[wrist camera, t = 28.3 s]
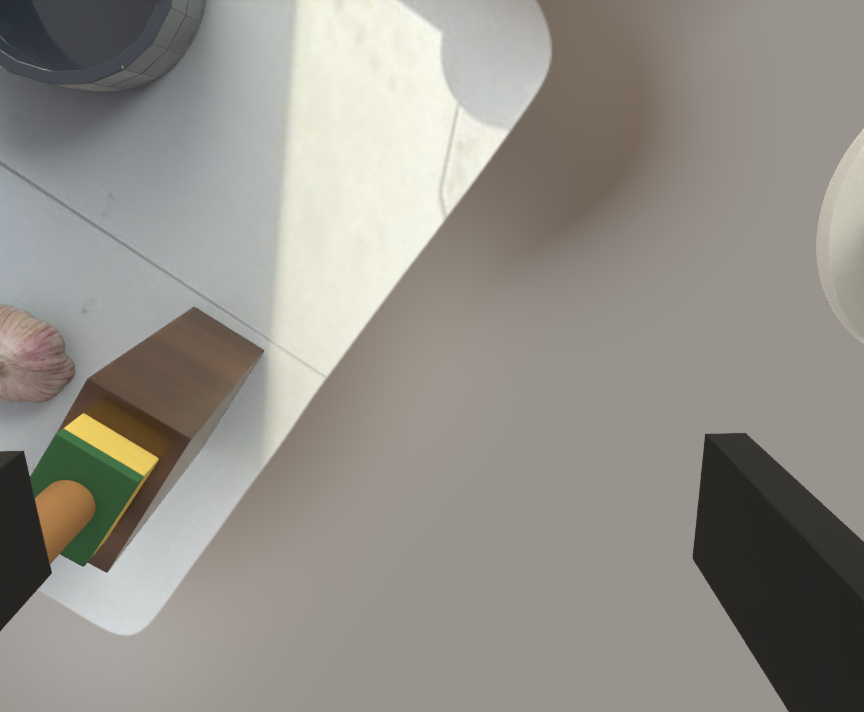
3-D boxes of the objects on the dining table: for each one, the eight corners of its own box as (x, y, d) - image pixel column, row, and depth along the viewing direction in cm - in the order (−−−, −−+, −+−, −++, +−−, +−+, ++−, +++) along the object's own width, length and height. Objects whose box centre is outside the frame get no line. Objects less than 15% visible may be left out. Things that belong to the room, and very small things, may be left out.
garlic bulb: (99, 379, 51) (41, 420, 44) (12, 405, 52) (-60, 449, 44) (55, 286, 49) (-15, 311, 41) (-35, 313, 50) (-120, 344, 42)
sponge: (83, 412, 35) (-62, 522, 25) (160, 458, 36) (50, 584, 25) (33, 495, 36) (-124, 633, 26) (107, 538, 37) (-17, 687, 27)
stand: (194, 306, 50) (87, 377, 34) (264, 350, 51) (191, 438, 35) (132, 410, 52) (7, 520, 37) (200, 450, 53) (106, 573, 38)
